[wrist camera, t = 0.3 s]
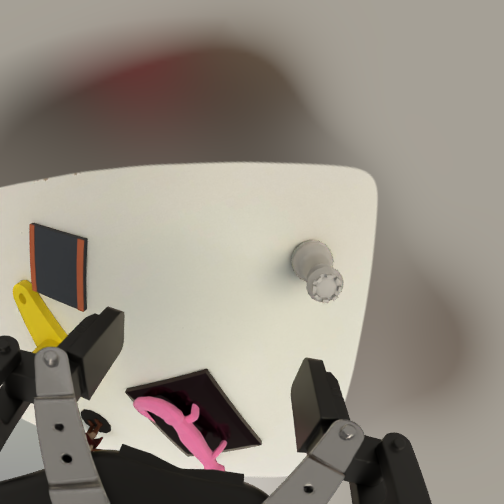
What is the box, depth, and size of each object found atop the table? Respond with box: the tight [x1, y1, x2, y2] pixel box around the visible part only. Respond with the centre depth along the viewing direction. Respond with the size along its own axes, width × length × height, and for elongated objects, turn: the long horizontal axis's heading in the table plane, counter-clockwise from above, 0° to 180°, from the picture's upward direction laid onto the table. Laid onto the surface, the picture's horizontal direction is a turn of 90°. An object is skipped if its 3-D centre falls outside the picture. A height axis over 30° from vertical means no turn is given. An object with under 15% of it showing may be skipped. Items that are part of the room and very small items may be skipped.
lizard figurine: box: [125, 369, 262, 471], centre depth 35 cm, size 15×20×7 cm
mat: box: [30, 223, 87, 312], centre depth 31 cm, size 10×10×1 cm
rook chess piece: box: [291, 240, 343, 303], centre depth 27 cm, size 4×4×8 cm
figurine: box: [81, 410, 111, 452], centre depth 34 cm, size 7×7×15 cm
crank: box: [13, 280, 68, 353], centre depth 32 cm, size 18×8×6 cm, turn 22°
